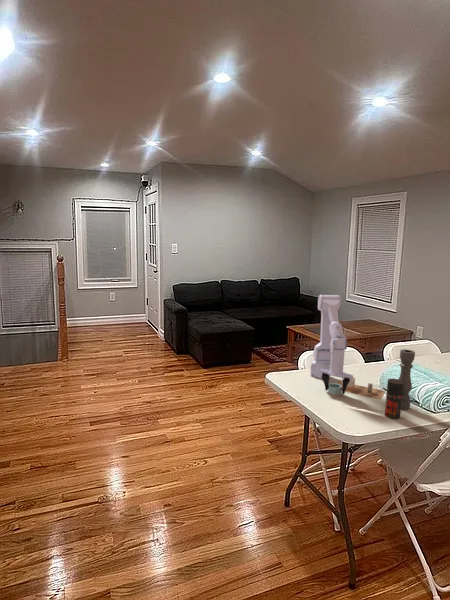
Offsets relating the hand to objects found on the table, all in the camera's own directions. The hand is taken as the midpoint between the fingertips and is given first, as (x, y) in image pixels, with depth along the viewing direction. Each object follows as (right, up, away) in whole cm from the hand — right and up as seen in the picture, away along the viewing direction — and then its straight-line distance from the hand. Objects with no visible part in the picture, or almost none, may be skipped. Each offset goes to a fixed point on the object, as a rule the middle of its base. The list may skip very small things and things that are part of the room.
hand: (335, 391), depth 187 cm
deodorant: (+18, -6, -19) cm, 27 cm away
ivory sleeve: (+8, 0, +8) cm, 12 cm away
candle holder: (+26, -5, -10) cm, 29 cm away
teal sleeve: (0, -2, 0) cm, 2 cm away
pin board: (+13, -2, +6) cm, 14 cm away
